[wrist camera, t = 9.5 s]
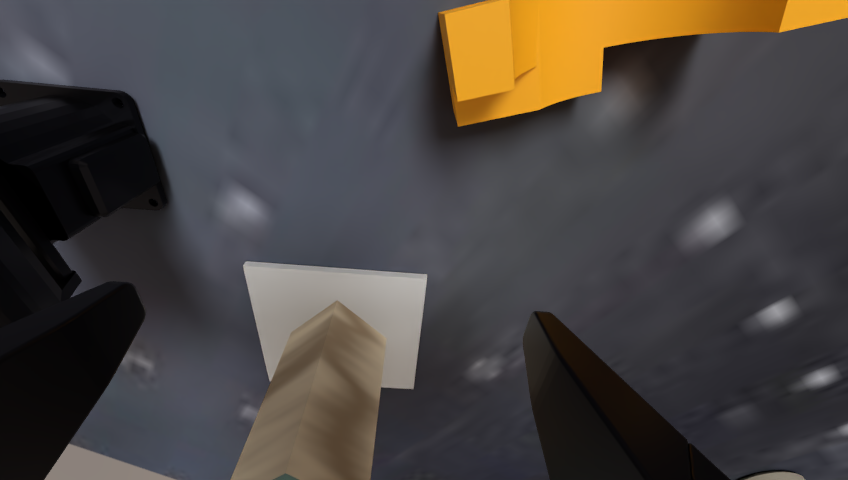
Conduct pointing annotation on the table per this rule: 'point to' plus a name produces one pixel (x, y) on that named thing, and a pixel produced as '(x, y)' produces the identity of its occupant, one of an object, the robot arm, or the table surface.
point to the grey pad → (357, 290)
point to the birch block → (319, 404)
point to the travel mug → (774, 476)
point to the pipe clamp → (582, 43)
